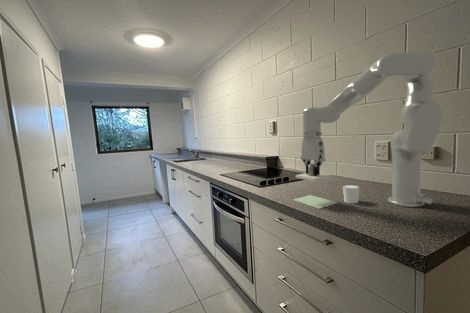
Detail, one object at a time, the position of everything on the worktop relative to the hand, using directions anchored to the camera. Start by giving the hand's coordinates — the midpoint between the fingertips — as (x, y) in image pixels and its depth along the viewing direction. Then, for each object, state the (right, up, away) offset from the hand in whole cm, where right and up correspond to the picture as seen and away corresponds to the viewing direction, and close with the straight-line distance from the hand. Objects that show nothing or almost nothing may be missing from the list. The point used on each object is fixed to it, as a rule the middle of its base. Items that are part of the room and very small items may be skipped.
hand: (312, 173), depth 103 cm
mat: (+1, -13, +1) cm, 13 cm away
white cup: (+17, -13, -1) cm, 22 cm away
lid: (0, -2, 0) cm, 2 cm away
